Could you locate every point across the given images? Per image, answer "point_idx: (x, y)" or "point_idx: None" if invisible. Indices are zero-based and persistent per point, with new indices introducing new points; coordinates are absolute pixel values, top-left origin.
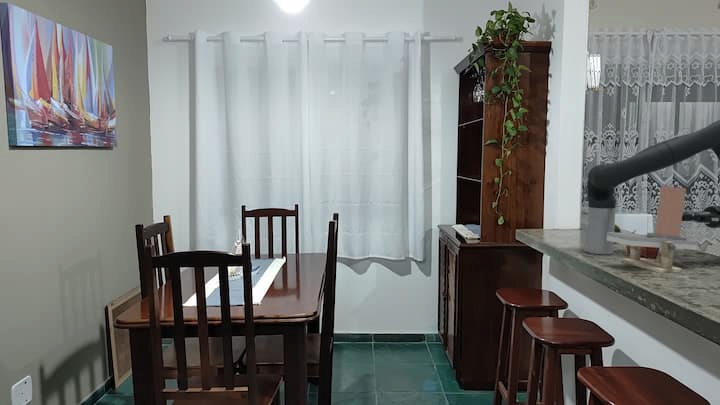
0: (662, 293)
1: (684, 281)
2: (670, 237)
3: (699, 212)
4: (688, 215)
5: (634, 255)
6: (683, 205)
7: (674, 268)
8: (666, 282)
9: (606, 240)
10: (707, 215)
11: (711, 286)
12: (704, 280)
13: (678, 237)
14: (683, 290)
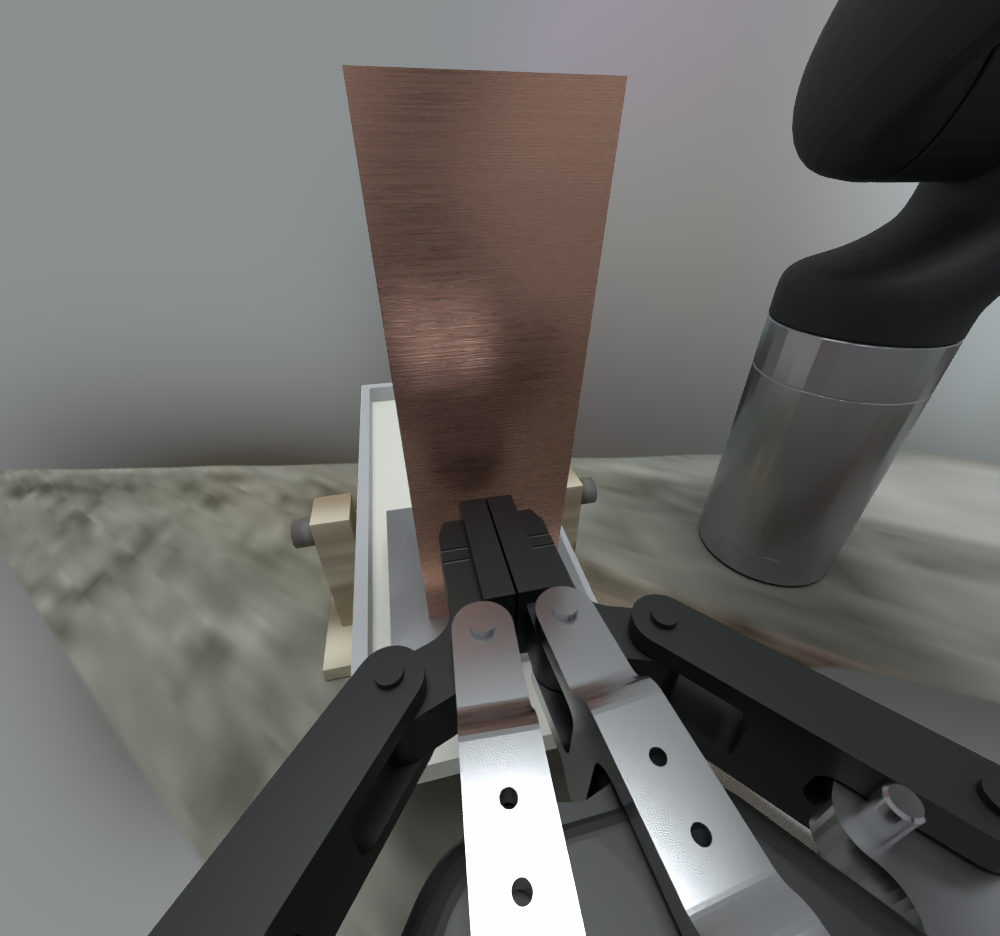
0: (145, 477)
1: (190, 589)
2: (387, 536)
3: (546, 780)
4: (477, 577)
5: None
6: (392, 376)
7: (338, 637)
8: (218, 532)
9: (721, 489)
10: (262, 795)
11: (68, 638)
12: (145, 678)
13: (389, 588)
14: (121, 528)
